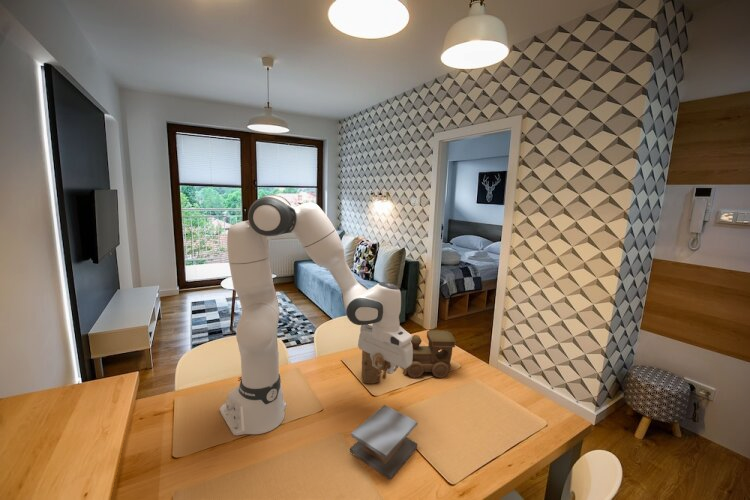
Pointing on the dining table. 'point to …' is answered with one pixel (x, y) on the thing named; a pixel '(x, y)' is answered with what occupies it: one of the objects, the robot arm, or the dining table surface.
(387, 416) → the stand
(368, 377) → the block
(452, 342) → the wooden toy train
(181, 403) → the dining table surface
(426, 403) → the dining table surface
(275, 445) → the dining table surface
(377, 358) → the lion figurine
